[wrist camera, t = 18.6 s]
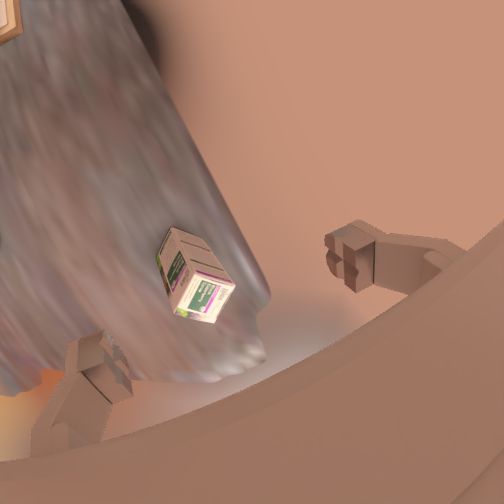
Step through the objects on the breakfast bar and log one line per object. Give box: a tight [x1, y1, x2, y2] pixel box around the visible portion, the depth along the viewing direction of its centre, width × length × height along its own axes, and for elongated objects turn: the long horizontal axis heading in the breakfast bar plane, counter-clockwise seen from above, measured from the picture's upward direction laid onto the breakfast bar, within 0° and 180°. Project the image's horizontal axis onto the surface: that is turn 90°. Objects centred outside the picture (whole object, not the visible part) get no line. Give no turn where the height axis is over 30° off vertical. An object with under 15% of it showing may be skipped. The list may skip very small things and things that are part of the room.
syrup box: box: [156, 227, 235, 323], centre depth 40 cm, size 6×6×14 cm
